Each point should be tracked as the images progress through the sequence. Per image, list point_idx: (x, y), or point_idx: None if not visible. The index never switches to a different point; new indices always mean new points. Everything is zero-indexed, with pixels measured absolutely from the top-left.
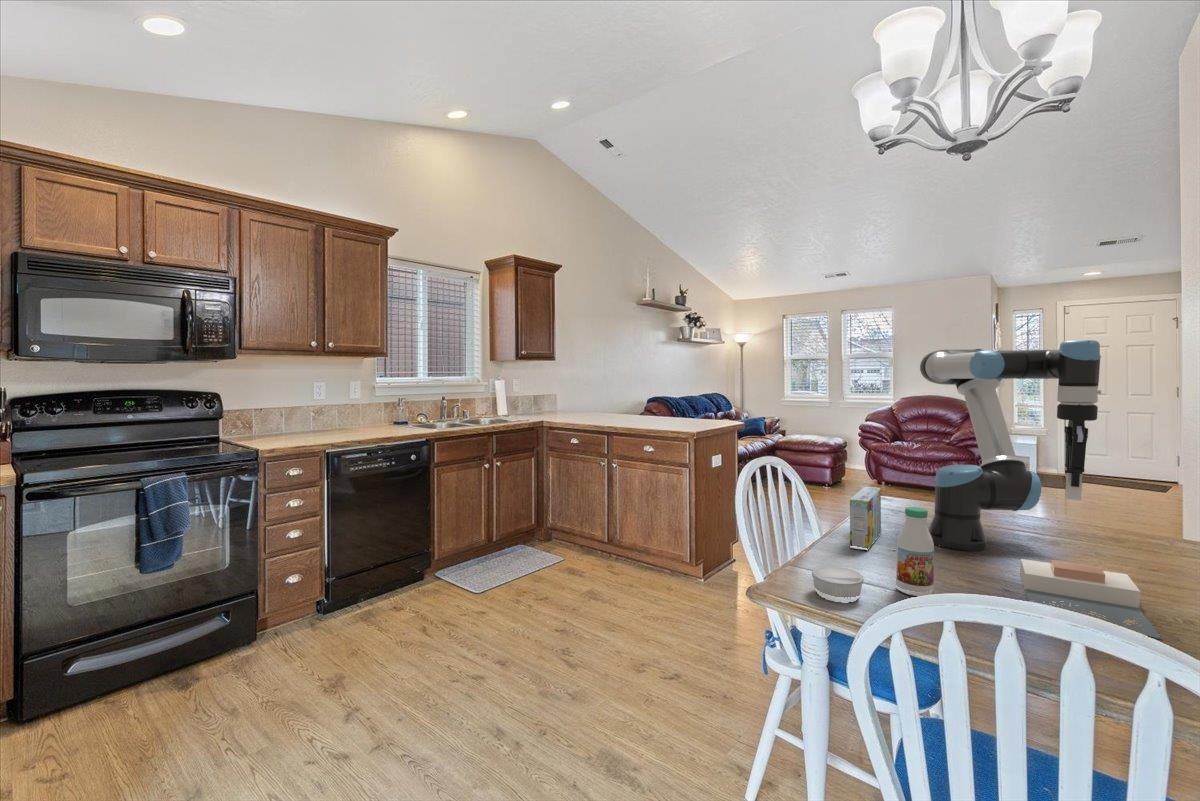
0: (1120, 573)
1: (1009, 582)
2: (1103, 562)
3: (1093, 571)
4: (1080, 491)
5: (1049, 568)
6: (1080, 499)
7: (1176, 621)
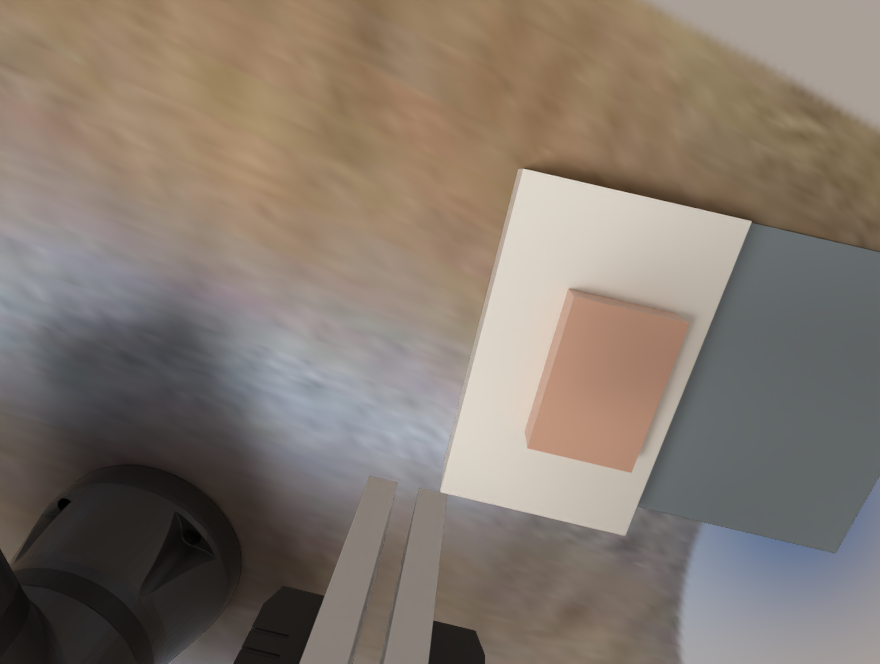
0: (521, 191)
1: None
2: (148, 91)
3: (655, 351)
4: (437, 558)
5: None
6: (443, 501)
7: (814, 141)
